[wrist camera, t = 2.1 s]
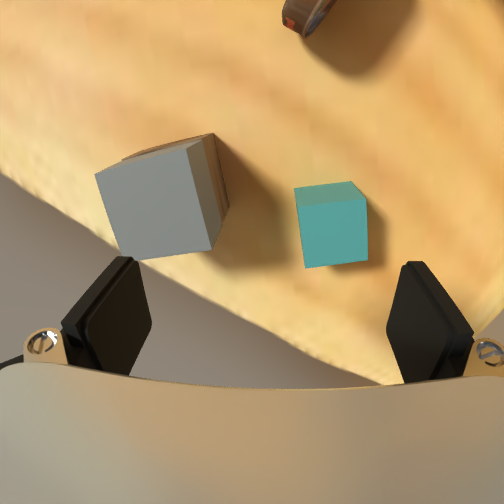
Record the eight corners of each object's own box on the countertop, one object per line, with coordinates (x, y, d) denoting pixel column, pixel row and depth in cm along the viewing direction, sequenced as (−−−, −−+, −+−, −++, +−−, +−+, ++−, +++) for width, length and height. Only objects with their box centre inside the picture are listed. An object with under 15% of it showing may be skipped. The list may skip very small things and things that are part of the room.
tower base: (213, 132, 29) (201, 138, 25) (229, 205, 33) (221, 223, 29) (142, 150, 31) (121, 159, 26) (161, 218, 34) (145, 236, 30)
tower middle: (202, 139, 25) (185, 148, 21) (222, 225, 29) (211, 249, 24) (121, 160, 26) (94, 174, 22) (145, 237, 30) (124, 262, 25)
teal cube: (350, 181, 30) (366, 198, 25) (354, 233, 33) (367, 260, 28) (294, 188, 31) (297, 207, 26) (301, 240, 34) (305, 268, 29)
